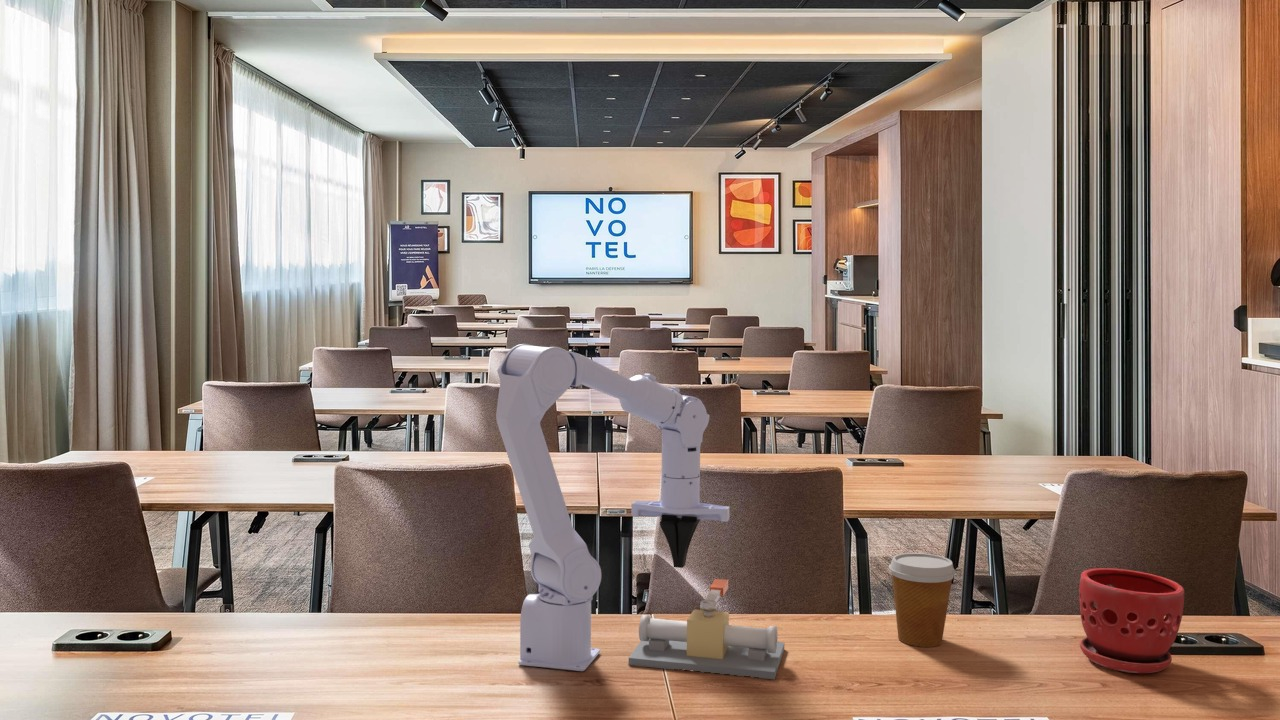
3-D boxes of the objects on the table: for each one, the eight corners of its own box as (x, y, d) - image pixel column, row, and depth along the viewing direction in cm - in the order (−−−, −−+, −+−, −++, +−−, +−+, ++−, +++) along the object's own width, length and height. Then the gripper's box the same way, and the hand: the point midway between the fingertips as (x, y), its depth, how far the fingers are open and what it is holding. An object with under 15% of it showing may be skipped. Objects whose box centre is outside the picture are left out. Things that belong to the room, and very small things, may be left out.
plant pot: (1131, 686, 135) (1134, 596, 134) (1056, 653, 147) (1059, 571, 146) (1203, 673, 140) (1206, 586, 139) (1124, 642, 152) (1128, 562, 151)
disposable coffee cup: (907, 653, 146) (910, 570, 146) (875, 632, 156) (877, 554, 155) (966, 648, 149) (969, 566, 148) (931, 627, 158) (933, 550, 157)
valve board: (628, 664, 141) (628, 616, 141) (649, 636, 153) (649, 591, 152) (774, 679, 136) (775, 629, 136) (784, 649, 148) (785, 602, 147)
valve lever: (714, 612, 142) (714, 603, 142) (699, 610, 143) (699, 602, 143) (728, 587, 154) (728, 580, 154) (714, 586, 154) (714, 578, 154)
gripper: (733, 473, 154) (732, 562, 155) (639, 468, 158) (639, 555, 159) (725, 481, 148) (724, 574, 148) (628, 476, 151) (627, 567, 152)
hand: (679, 565), depth 153 cm, fingers closed
